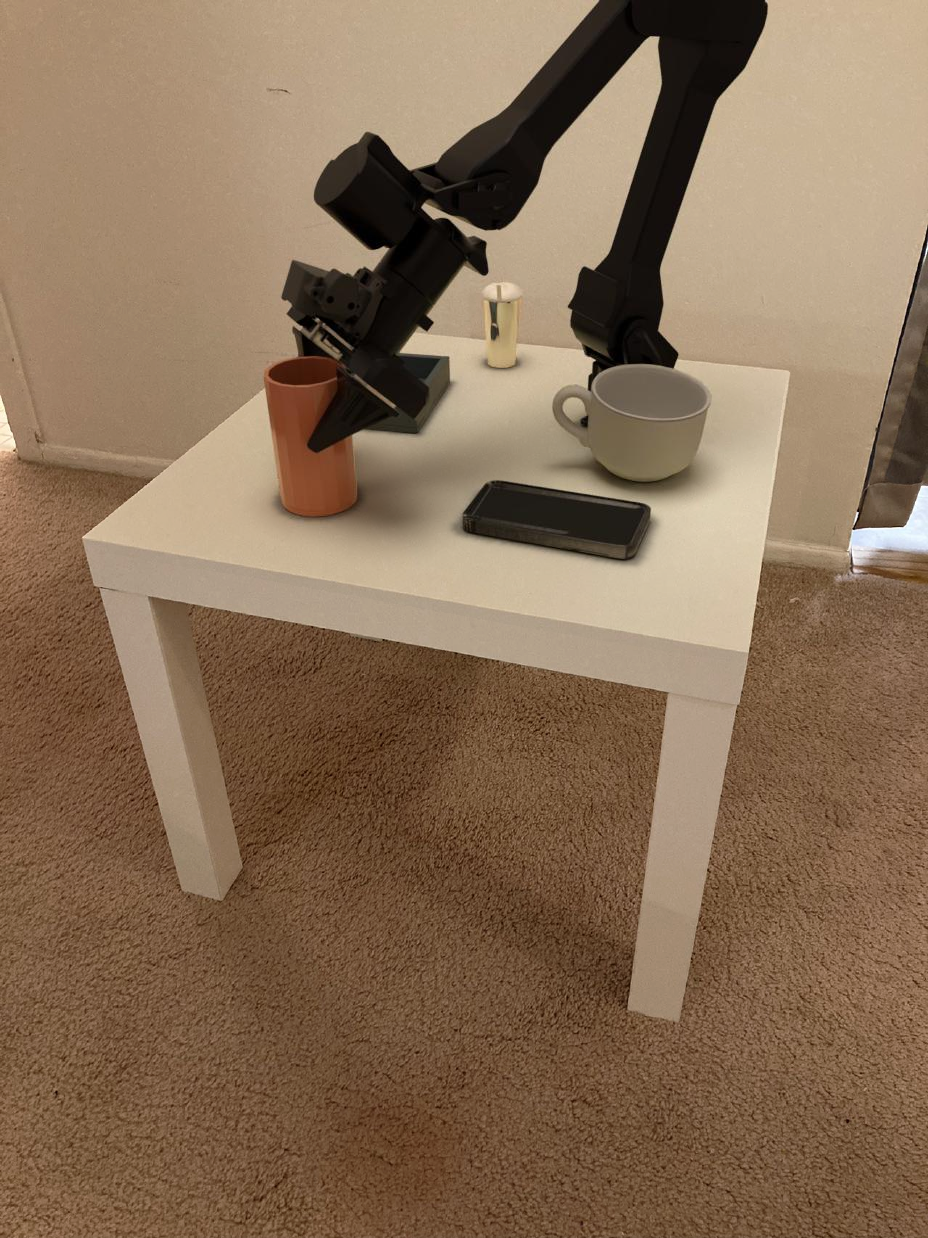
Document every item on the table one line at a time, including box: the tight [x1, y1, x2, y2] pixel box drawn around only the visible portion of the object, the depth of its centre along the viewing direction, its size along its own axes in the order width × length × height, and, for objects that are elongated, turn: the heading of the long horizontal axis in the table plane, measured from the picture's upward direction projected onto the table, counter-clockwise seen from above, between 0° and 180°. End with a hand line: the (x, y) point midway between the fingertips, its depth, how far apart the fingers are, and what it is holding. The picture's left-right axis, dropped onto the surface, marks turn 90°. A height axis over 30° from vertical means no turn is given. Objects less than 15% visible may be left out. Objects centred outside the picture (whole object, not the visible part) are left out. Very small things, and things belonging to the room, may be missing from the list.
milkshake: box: [481, 281, 523, 369], centre depth 112 cm, size 4×5×10 cm
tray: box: [339, 352, 451, 434], centre depth 106 cm, size 14×14×3 cm
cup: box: [263, 356, 358, 518], centre depth 86 cm, size 7×7×12 cm
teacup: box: [551, 364, 712, 483], centre depth 91 cm, size 14×11×8 cm
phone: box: [462, 479, 652, 559], centre depth 84 cm, size 8×1×15 cm
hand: (296, 433), depth 85 cm, fingers closed on cup, 7 cm apart
